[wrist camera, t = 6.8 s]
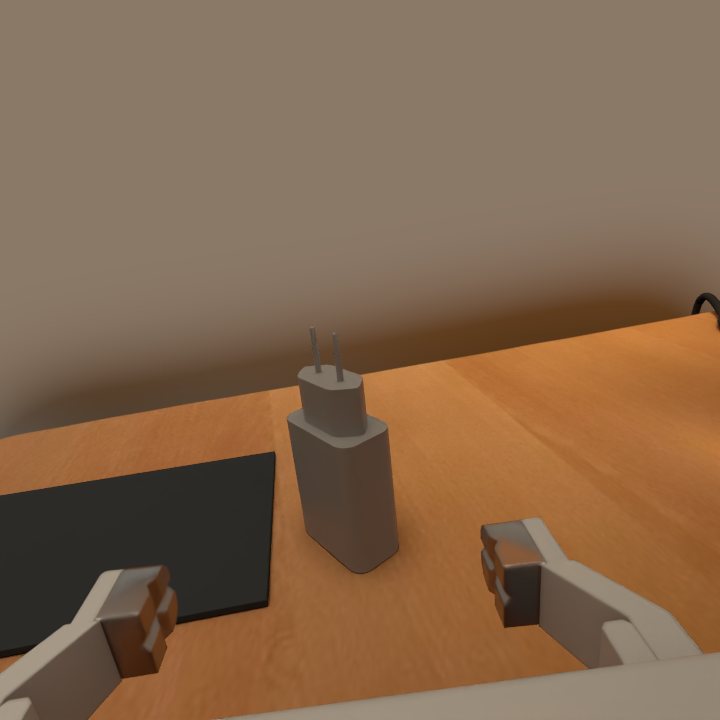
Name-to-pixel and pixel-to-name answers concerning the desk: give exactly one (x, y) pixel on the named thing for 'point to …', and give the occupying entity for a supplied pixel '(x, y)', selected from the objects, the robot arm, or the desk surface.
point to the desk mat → (137, 542)
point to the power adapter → (343, 466)
